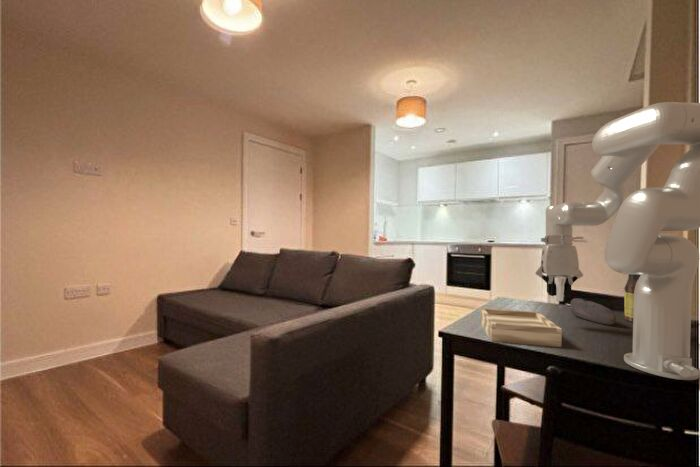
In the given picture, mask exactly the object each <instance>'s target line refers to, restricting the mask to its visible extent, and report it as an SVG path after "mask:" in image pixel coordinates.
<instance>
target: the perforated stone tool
mask: <svg viewBox="0 0 700 467" xmlns="http://www.w3.org/2000/svg"><path fill="white" fill-rule="evenodd" d="M569 307H570V308H569V309H570V313H572V314H573V315H574V316H576V317H579V318H580V319H583V320H587V321H590V322H594V323H598V324H601V325H613V324H615V323H616V322H617V317H616V314H615V313H614V312H613V310H611V309H610V308H609V307H607V306H605V305H603V304H601V303H597V302H594V301H591V300H587V299H583V298H579V297H578V298H577V297H575V298H573V299H571V300H570V306H569Z"/></svg>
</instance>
